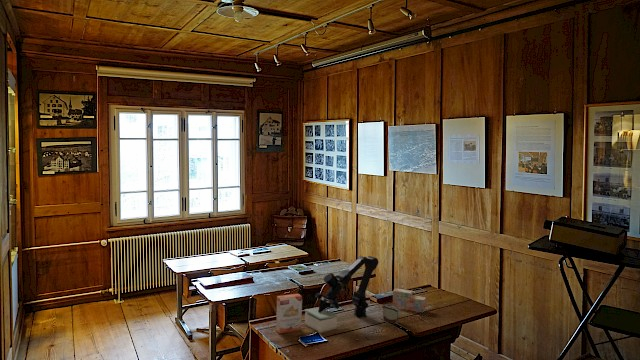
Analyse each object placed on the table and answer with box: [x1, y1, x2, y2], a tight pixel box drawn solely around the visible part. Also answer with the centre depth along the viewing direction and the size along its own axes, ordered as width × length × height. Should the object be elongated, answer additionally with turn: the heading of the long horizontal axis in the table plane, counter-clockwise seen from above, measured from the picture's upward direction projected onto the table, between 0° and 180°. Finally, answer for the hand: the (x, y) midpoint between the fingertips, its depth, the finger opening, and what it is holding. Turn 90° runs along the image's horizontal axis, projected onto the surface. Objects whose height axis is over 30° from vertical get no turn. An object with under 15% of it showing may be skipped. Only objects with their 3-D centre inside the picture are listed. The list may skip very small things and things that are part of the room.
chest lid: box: [304, 307, 338, 319], centre depth 275 cm, size 12×16×1 cm
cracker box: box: [275, 293, 303, 334], centre depth 267 cm, size 14×6×21 cm, turn 116°
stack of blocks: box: [392, 288, 427, 314], centre depth 308 cm, size 21×6×12 cm, turn 60°
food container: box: [381, 303, 401, 325], centre depth 285 cm, size 12×6×10 cm, turn 47°
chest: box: [304, 312, 338, 334], centre depth 275 cm, size 12×16×7 cm
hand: (319, 312), depth 274 cm, fingers closed, pressing on chest lid
